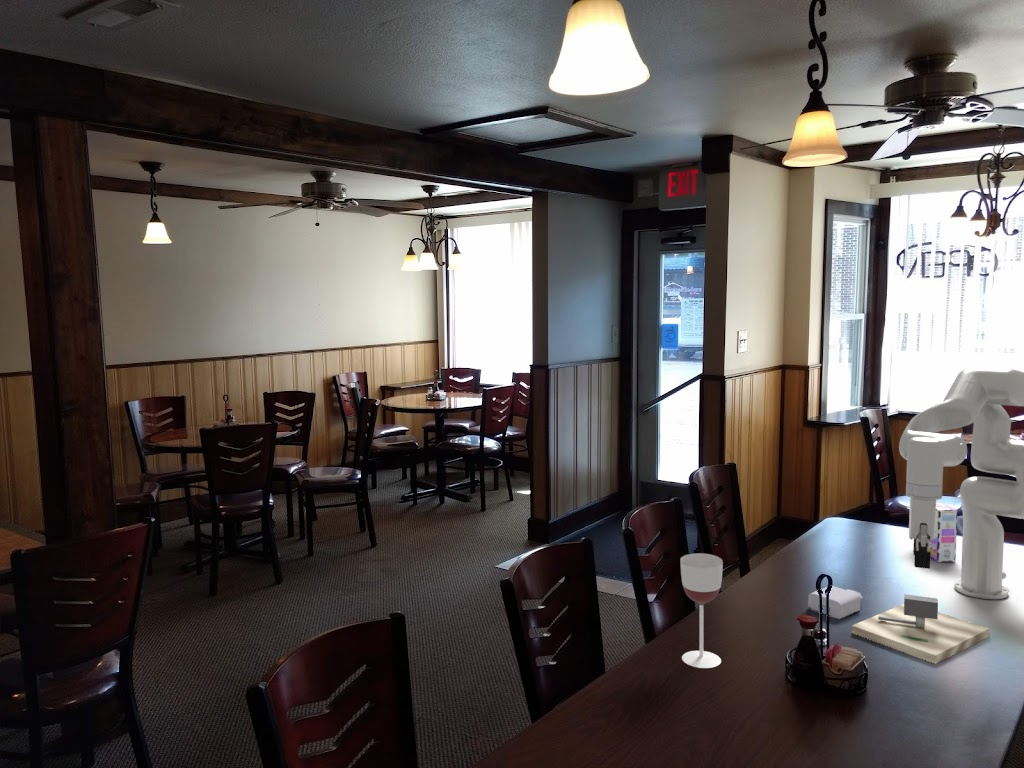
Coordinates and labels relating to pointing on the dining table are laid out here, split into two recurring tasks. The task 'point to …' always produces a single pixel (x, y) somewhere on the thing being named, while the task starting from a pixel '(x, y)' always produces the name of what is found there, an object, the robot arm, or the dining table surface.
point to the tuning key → (917, 610)
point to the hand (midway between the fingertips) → (921, 561)
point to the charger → (837, 601)
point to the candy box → (944, 534)
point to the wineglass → (701, 598)
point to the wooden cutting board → (922, 634)
